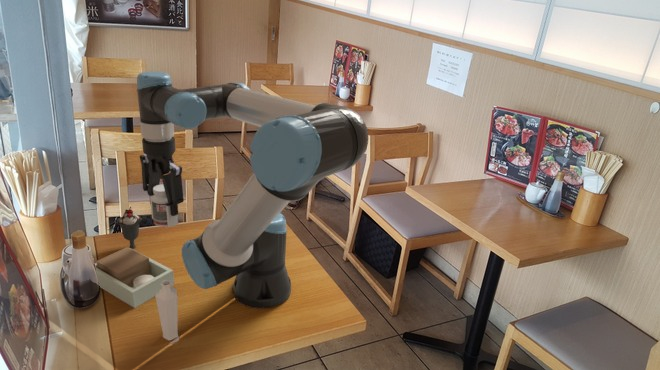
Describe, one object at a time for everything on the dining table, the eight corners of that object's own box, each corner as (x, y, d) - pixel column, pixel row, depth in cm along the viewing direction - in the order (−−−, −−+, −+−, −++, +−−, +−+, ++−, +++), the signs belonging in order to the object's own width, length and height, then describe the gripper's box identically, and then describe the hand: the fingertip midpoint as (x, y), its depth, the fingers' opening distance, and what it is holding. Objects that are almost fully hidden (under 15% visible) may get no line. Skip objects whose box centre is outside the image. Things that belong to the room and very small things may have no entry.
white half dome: (159, 289, 120) (158, 279, 118) (143, 298, 116) (141, 288, 115) (147, 282, 122) (145, 272, 121) (130, 291, 118) (129, 281, 117)
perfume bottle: (175, 328, 108) (171, 274, 102) (184, 338, 105) (180, 283, 99) (156, 336, 105) (150, 281, 99) (165, 347, 102) (159, 291, 96)
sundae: (136, 257, 134) (131, 211, 128) (116, 254, 135) (109, 207, 129) (149, 246, 140) (144, 201, 134) (129, 242, 141) (123, 198, 135)
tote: (174, 287, 122) (173, 270, 120) (135, 311, 113) (132, 292, 110) (131, 264, 131) (129, 247, 128) (91, 284, 121) (88, 266, 119)
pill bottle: (175, 227, 120) (173, 192, 116) (152, 227, 119) (148, 192, 115) (177, 216, 125) (175, 183, 121) (155, 217, 124) (152, 183, 120)
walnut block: (150, 277, 124) (148, 258, 122) (120, 293, 117) (118, 273, 115) (129, 265, 128) (127, 246, 126) (99, 280, 121) (96, 261, 119)
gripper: (196, 143, 111) (200, 227, 120) (147, 125, 120) (154, 205, 129) (170, 150, 105) (176, 239, 114) (121, 131, 114) (130, 214, 124)
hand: (165, 221), depth 122 cm, fingers closed on pill bottle, 6 cm apart
